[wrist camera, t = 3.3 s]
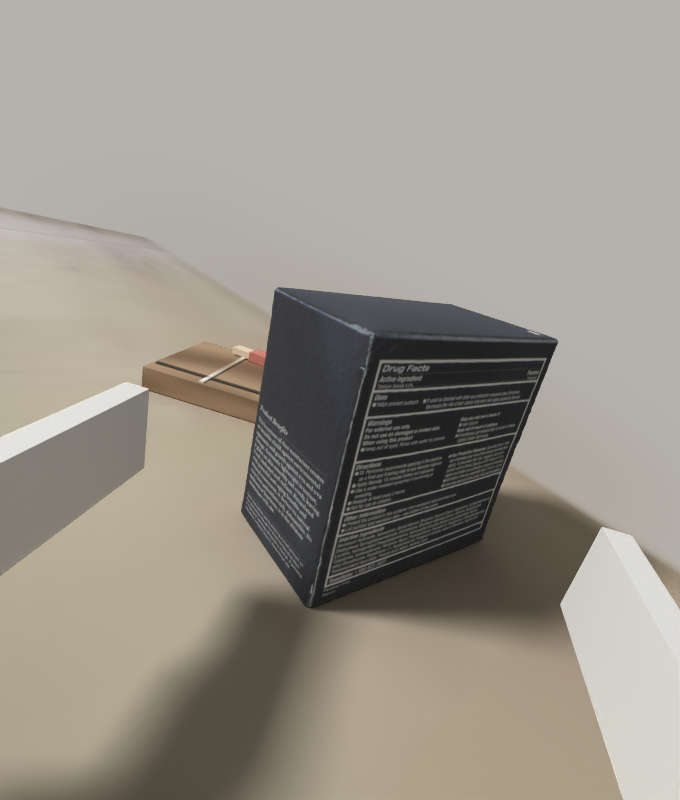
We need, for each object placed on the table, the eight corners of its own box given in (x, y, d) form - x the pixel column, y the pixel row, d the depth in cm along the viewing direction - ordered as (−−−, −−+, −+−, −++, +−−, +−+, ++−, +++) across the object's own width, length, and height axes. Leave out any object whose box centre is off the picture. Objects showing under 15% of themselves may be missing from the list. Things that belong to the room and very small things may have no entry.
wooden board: (407, 470, 27) (414, 447, 27) (141, 387, 30) (143, 365, 29) (415, 421, 35) (421, 403, 34) (202, 359, 37) (204, 340, 36)
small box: (398, 471, 27) (452, 299, 23) (485, 542, 22) (570, 341, 19) (233, 507, 21) (269, 276, 17) (306, 615, 16) (380, 332, 12)
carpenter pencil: (399, 409, 32) (401, 400, 32) (394, 414, 31) (397, 405, 31) (239, 351, 36) (241, 343, 36) (230, 354, 35) (232, 345, 35)
